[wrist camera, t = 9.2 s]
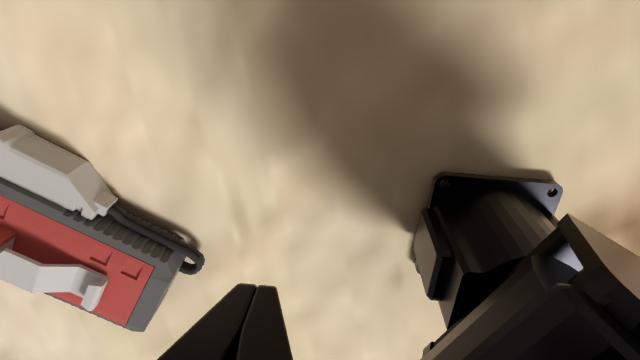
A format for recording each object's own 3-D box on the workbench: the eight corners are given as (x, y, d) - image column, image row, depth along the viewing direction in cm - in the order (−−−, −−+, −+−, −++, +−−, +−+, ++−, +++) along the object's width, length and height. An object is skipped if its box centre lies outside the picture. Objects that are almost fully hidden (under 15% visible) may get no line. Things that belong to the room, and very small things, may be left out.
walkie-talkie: (227, 222, 22) (-132, 40, 19) (201, 271, 18) (-259, 52, 15) (175, 312, 26) (-134, 174, 22) (145, 369, 22) (-237, 211, 18)
